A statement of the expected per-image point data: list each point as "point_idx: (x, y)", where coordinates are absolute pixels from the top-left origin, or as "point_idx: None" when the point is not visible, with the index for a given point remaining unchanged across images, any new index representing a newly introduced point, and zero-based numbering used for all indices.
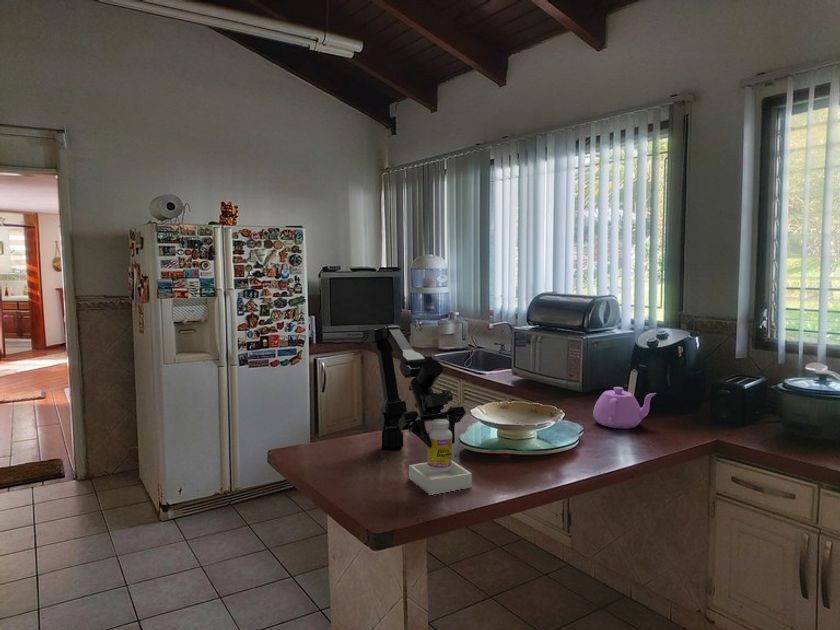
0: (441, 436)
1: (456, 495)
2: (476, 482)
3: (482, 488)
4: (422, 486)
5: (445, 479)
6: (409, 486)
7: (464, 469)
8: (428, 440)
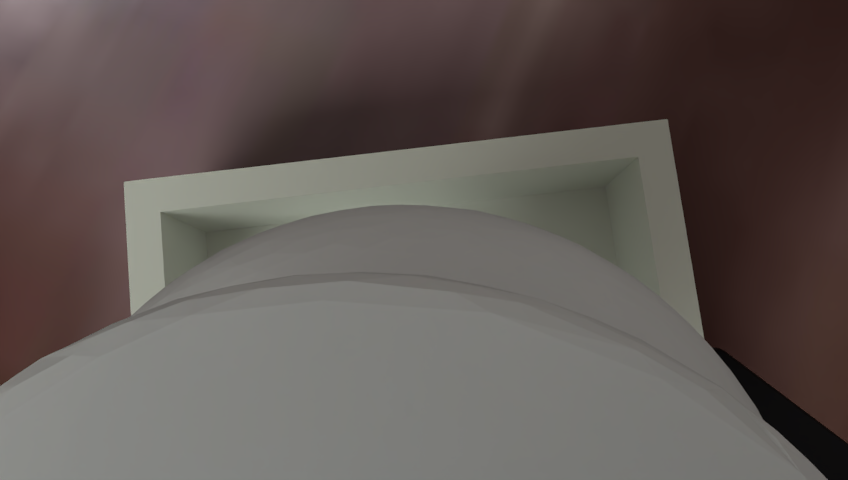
0: (500, 223)
1: (384, 107)
2: (78, 321)
3: (95, 173)
4: None
5: (467, 144)
6: None
7: None
8: (807, 428)
